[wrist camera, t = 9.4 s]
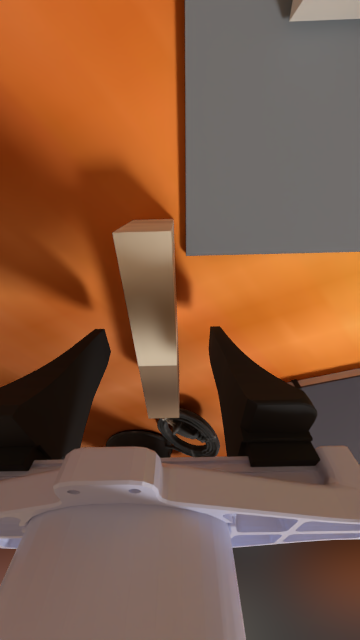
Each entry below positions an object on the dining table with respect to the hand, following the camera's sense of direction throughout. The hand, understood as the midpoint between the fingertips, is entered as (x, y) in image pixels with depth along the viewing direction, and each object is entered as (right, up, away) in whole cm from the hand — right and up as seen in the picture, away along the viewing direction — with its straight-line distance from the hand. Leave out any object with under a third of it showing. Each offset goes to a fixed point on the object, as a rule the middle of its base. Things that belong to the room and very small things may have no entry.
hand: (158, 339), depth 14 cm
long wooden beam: (0, +2, +2) cm, 3 cm away
